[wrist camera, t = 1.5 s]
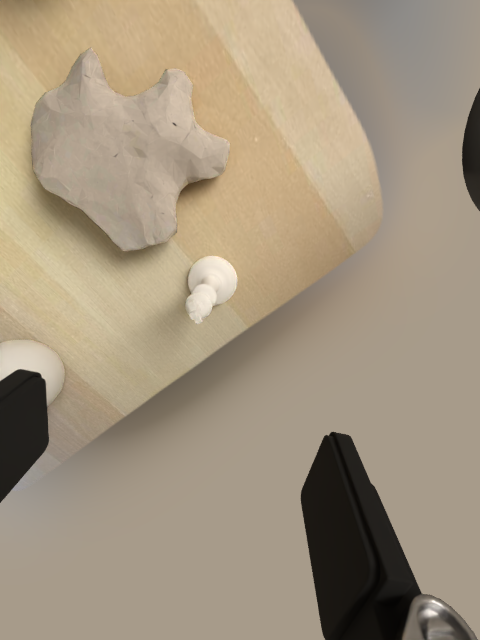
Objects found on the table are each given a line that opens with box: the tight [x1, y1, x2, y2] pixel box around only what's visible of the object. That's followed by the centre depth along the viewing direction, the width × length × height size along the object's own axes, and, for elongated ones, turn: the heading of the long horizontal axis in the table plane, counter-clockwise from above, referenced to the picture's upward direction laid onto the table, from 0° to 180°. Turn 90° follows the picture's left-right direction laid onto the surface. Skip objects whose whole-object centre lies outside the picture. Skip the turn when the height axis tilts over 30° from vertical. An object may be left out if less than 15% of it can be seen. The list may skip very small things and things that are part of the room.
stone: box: [31, 47, 230, 251], centre depth 23 cm, size 14×4×15 cm
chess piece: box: [185, 256, 237, 324], centre depth 24 cm, size 5×5×10 cm
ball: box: [0, 339, 65, 406], centre depth 29 cm, size 8×8×8 cm
